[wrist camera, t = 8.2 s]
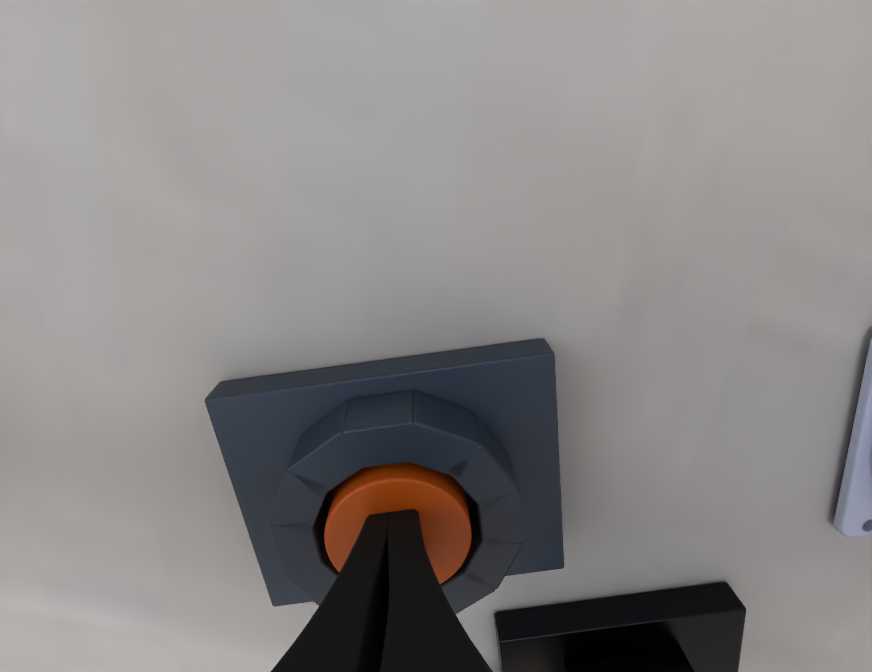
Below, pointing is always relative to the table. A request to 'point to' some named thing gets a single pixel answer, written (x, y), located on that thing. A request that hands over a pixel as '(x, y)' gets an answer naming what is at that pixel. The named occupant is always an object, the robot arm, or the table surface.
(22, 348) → the table surface
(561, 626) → the switch bracket
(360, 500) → the button
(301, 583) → the button box
